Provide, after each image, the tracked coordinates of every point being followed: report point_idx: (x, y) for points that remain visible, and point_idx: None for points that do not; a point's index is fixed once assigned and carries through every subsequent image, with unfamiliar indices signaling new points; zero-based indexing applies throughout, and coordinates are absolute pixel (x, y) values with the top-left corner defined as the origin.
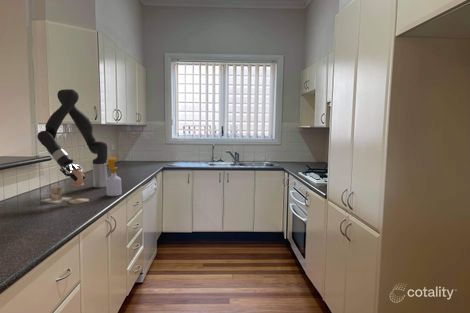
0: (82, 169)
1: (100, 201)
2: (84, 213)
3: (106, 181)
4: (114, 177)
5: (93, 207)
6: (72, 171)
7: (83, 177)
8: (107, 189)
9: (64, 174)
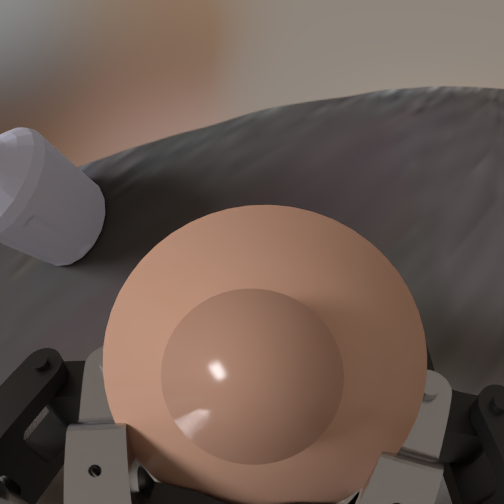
0: (16, 381)
1: (246, 192)
2: (479, 136)
3: (22, 217)
4: (8, 141)
5: (388, 149)
6: (393, 438)
7: None
8: (72, 226)
9: (485, 485)
